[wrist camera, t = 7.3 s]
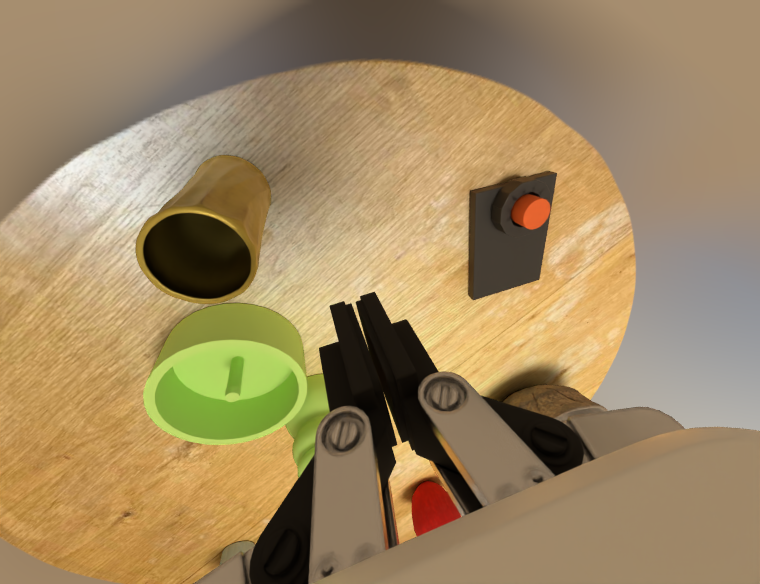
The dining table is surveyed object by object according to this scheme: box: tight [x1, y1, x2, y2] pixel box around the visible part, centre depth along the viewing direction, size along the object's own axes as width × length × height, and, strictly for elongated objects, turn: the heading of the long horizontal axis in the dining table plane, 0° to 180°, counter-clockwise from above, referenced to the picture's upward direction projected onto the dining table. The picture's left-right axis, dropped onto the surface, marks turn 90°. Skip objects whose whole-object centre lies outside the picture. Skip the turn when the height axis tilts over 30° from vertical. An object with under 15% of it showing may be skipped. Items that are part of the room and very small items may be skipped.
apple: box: [412, 481, 461, 536], centre depth 60 cm, size 10×10×11 cm
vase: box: [136, 155, 271, 304], centre depth 21 cm, size 6×6×14 cm
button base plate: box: [469, 171, 557, 300], centre depth 36 cm, size 15×10×3 cm
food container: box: [143, 303, 330, 477], centre depth 33 cm, size 25×14×13 cm, turn 39°
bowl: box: [503, 384, 607, 421], centre depth 54 cm, size 21×21×10 cm
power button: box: [511, 194, 550, 229], centre depth 32 cm, size 3×3×2 cm
